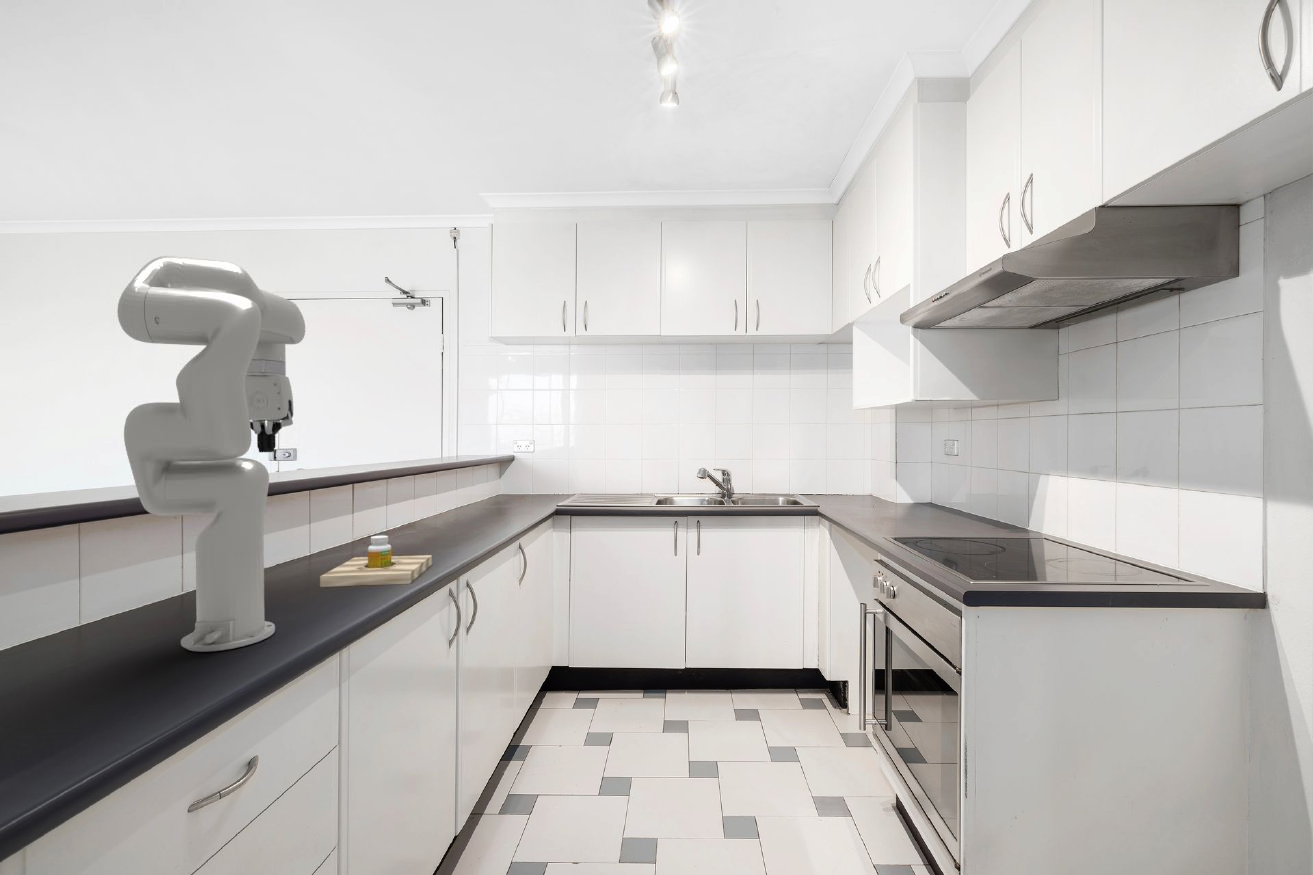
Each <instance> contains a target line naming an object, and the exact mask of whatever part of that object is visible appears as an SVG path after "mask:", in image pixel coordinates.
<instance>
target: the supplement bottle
mask: <svg viewBox="0 0 1313 875" xmlns="http://www.w3.org/2000/svg"><path fill="white" fill-rule="evenodd" d="M388 542H389V535H374V536H371V537H370V544H371V545H369V546H368V548H367V557H368V568H384V567H389V566H392V564H391V556H392V545H391V544H389V543H388Z"/></svg>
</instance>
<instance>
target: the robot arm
mask: <svg viewBox="0 0 1313 875" xmlns="http://www.w3.org/2000/svg"><path fill="white" fill-rule="evenodd" d="M117 318H118V322H119V325H120V327H121V329H122V331H123V332H124V333H125V334H126V335H127V336H129V337H130V338H131V339H133V340H135V341H138V342H141V343H146V344H155V345H156V344H160V345H161V344H164V345H180V346H181V345H183V346H205V347H204V348H203V349H202V350H201V351H199V352H198V353H197V354H196V355H195V356H193V357H192V358H190V360H189V361H188V362H186V364H184V366H183V367H182V368H181V370H180V371H179V373H178V374H177V376H176V378H175V385H176V390H177V396H178V400H179V402H166V401H165V402H161V401H159V402H147V403H142V404H139V405H137V406H136V407H134V408H133V409H132V410H131V411H130V412H129V413H128V415H127V416H126V418H125V423H124V427H123V440H124V447H125V451H126V452H125V453H126V455H127V459H128V462H129V465H130V469H131V472H132V476H133V480H134V484H135V488H136V491H137V493H138V494H137V495H138V498H139V500H140V503H141V505H142V506H143V508H144V510H145V511H146V512H148V513H150V514H152V515H154V516H161V517H162V516H163V517H167V516H174V517H175V516H189V515H190V516H191V515H213V516H214V517H213V519H212V520H211V521H210V522H209V523H208V524H207V525H206V526H205V527H204V529H202V530H201V532H200V533H199V534H198V535H197V538H196V541H195V545H194V546H195V550H194V551H195V552H194V553H195V585H196V586H195V591H196V592H195V595H196V596H195V597H196V598H195V600H196V601H195V603H196V604H195V605H196V607H195V608H196V622H195V623H194V630H193V632H191V633H189V634H187V635H185V636H183V637H182V639H181V640H180V645H181V647H183V648H184V649H186V650H188V651H192V652H200V653H201V652H206V653H208V652H209V653H210V652H219V651H226V650H232V649H237V648H241V647H245V646H250V645H252V644H255V643H258V642H261V641H263V640H265V639H268V638H269V637H271V636H272V635H274V633H275V632H276V625H275V624H274V623H273V622H271V621H267V620H265V560H264V559H265V557H264V556H265V554H264V550H265V549H264V526H265V525H264V524H265V513H266V512H265V511H266V504H267V498H268V494H269V486H270V475H269V472H268V469H267V468H266V466H265V465H264V464H263V463H261V462H259V461H258V460H255V459H252V458H245V457H242V456H244V455H245V454H247V453H248V452H249V450H250V449H251V448H250V447H251V444H252V431H253V432H254V434H255V435H256V436H257V437H256V438H257V439H256V440H257V442H256V444H257V449H258V452H259V453H274V452H275V449H276V446H277V445H276V435H277V434H279V431H280V430H281V429H282V428H286V427H289V426H293V424H294V421H293V417H294V397H293V391H292V386H291V382H290V378H289V376H287V375H286V374H287V373H286V372H287V370H286V369H287V368H286V367H287V366H286V364H287V363H286V345H296V344H300V343H301V342H302V341H303V340H304V338H305V336H306V323H305V319H304V316H303V313H302V312H301V310H300V308H299V306H298V305H297V304H296V303H294V302H293V301H291V300H290V299H287V298H285V297H282V296H280V295H276V294H273V293H271V292H269V291H266V290H263V289H260V288H259V287H258V285H257V284H256V282H255V281H254V280H253V278H252V277H251V276H250V274H249V273H248V272H247V271H246V270H245V269H243V268H242V267H241V266H239V265H237V264H234V263H231V262H228V261H223V260H216V259H204V258H194V257H183V256H175V255H163V256H158V257H155V258H153V259H151V260H150V261H148V262H147V263H146V264H145V265H143V266H142V268H141V269H140V270H138V272H137V274H136V275H135V276H134V277H133V278H132V280H130V282H129V283H128V284H127V285H126V287H125V288H124V289H123V291H122V293H121V295H120V297H119V299H118V303H117Z"/></svg>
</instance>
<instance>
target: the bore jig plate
mask: <svg viewBox="0 0 1313 875" xmlns="http://www.w3.org/2000/svg"><path fill="white" fill-rule="evenodd" d="M391 564H392V566H389V567H384V568H368V556H366V557H365V556H362V557H361V556H360V557H353V558H350V559H349V560H347V561H346V562H344V563H342V564H340V565H338V566H337V567H335V568H333V569H331V570H329V571H327V572H325V573H323V574H322V575H320V576H319V579H320V580H319V586H320V587H321V588H326V587H327V588H328V587H330V588H331V587H355V586H356V587H357V586H379V585H381V586H382V585H383V586H384V585H406V584H408V585H410V584H411V583H413V582H414V580H416V579H417V578H418V577H419V576H420V575H422V574H423V573H424V572H425V571H426V570H428V568H429V567H431V566H432V565H433V556H432V554H430V555H429V554H426V555H401V556H399V555H398V556H397V555H396V556H394V555H391Z"/></svg>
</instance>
